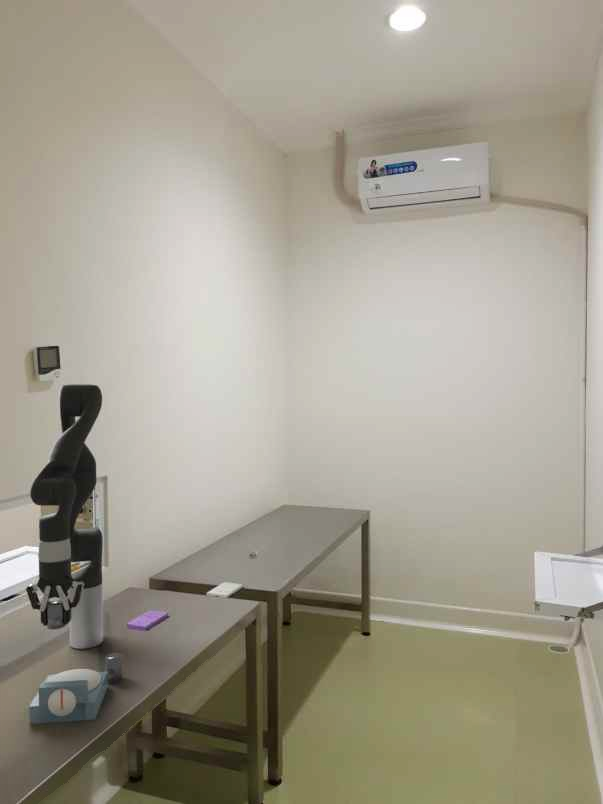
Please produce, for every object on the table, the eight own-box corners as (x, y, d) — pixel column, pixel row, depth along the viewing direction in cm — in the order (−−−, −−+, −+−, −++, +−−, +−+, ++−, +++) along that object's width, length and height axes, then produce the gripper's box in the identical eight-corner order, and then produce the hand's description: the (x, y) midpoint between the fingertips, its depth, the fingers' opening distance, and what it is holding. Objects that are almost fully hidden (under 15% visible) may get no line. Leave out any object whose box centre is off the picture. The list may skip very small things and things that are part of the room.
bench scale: (49, 689, 154) (49, 657, 154) (108, 685, 156) (107, 653, 155) (29, 725, 138) (28, 689, 137) (94, 720, 139) (94, 685, 139)
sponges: (126, 629, 193) (126, 623, 193) (149, 614, 205) (149, 609, 205) (145, 632, 190) (145, 626, 190) (168, 617, 202) (168, 612, 202)
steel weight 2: (107, 676, 161) (106, 653, 160) (124, 675, 161) (124, 652, 161) (103, 684, 156) (103, 660, 156) (121, 683, 157) (121, 659, 157)
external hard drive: (242, 588, 231) (226, 599, 219) (223, 586, 234) (206, 596, 222) (242, 584, 230) (226, 594, 219) (223, 581, 234) (206, 592, 222)
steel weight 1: (49, 623, 158) (49, 599, 158) (67, 622, 159) (67, 598, 159) (44, 630, 154) (44, 606, 154) (63, 629, 154) (62, 605, 154)
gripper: (87, 551, 160) (88, 617, 161) (29, 553, 159) (31, 620, 159) (81, 559, 153) (82, 628, 154) (20, 562, 151) (21, 631, 152)
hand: (56, 623), depth 156 cm, fingers closed on steel weight 1, 4 cm apart
